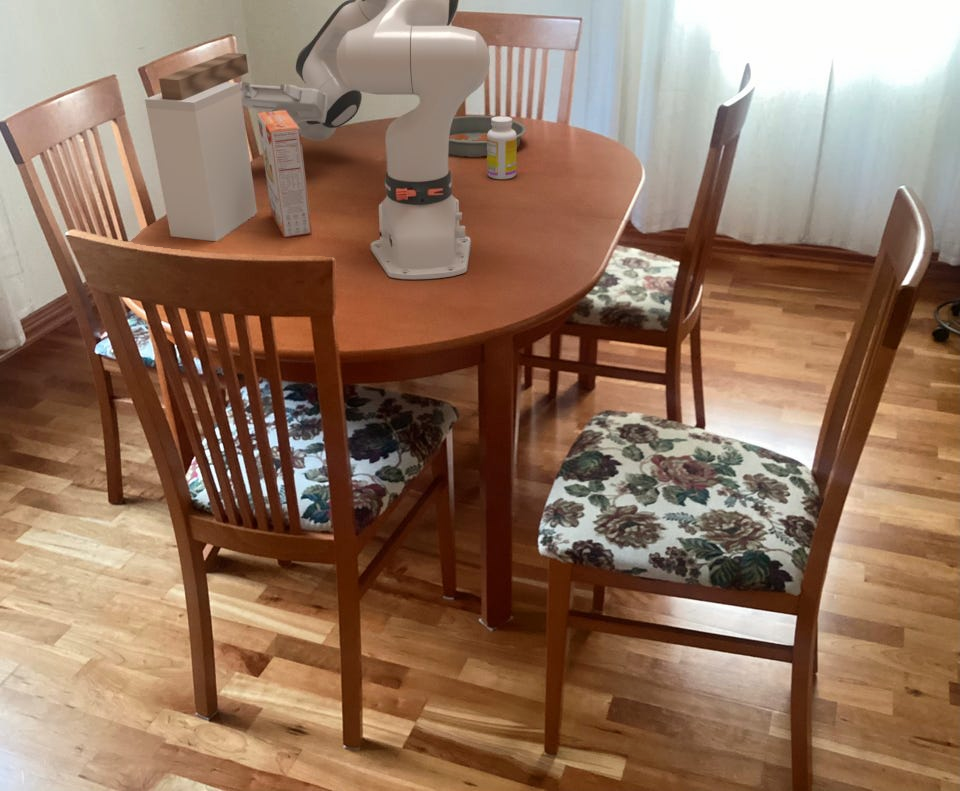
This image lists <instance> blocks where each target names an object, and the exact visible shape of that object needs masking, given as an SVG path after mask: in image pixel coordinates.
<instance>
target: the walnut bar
mask: <svg viewBox="0 0 960 791" xmlns="http://www.w3.org/2000/svg"><path fill="white" fill-rule="evenodd" d="M248 66H249V65H248V56H247V53H234V52H227V53H224V54H222V55H220V56H216V57H215V58H211V59H209V60H206V61H205V60H204V61H203V62H200V63H198V64H195V65H192V66H188V67H186V68H184V69H181V70H179V71H176V72H173V73H170V74H168V75H165V76H163V77H162V76H161V77H160V78H158V81H159V87H160V93H162V99H170V100H184V99H186V98H189V97H191V96H194V95H196V94H198V93H201V92H203V91H206V90H208V89H210V88H213V87H215V86H217V85H220V84H222V83H225V82H230V81H232V80H234V79H236V78H239V77H242V76H243V75H247V74H248V73H249V67H248Z"/></svg>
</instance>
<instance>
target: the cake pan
mask: <svg viewBox="0 0 960 791" xmlns="http://www.w3.org/2000/svg"><path fill="white" fill-rule="evenodd" d="M493 117H494V115H493V116H490V115H465V116H464V115H462V116H454V118H453V121H452V124H451V129H450V135H449V136H452V135H458V134H463V135H466V136H469V137H470V138H468V140H465V139H462V140H455V139H449V150H448V155H451V156H455V155H457V157H464V156H468V157H467V158H482V157H481V156H487V141H472V140H478V139H479V138H481V136H479V135H482V134H484V133H488V132H489V130H491V129H492V125H491V119H492V118H493ZM511 129H513V130H514V131H515V132H516V135H517V147H518V148H519V147H520V143H521V139H522V136H523V135H524V134H525V133H526V132H527V128H526V126H525V125H524V124H523V123H521V122H520V121H516V120H513V119H512V126H511ZM454 137H455V136H454Z"/></svg>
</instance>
